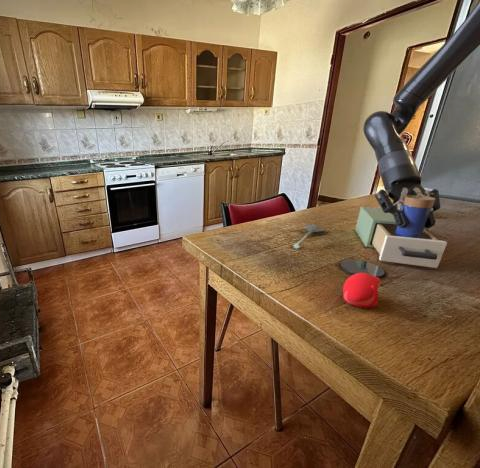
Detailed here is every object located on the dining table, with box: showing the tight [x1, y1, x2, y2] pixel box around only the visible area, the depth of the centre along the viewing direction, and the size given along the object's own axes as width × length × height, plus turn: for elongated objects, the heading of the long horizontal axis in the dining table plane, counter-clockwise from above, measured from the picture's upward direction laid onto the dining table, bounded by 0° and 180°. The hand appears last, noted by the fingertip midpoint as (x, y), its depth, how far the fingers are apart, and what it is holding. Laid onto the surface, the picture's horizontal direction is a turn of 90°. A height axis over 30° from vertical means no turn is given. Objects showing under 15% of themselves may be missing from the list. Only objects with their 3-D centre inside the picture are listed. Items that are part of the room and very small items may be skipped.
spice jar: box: [394, 195, 435, 239], centre depth 66 cm, size 5×5×13 cm
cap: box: [342, 273, 382, 308], centre depth 52 cm, size 8×6×6 cm
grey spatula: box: [293, 224, 326, 249], centre depth 84 cm, size 22×3×7 cm
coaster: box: [340, 259, 385, 279], centre depth 65 cm, size 9×9×1 cm
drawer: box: [371, 223, 448, 269], centre depth 68 cm, size 19×11×7 cm, turn 156°
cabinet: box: [354, 206, 430, 249], centre depth 80 cm, size 16×13×9 cm
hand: (416, 226), depth 64 cm, fingers closed on spice jar, 5 cm apart
